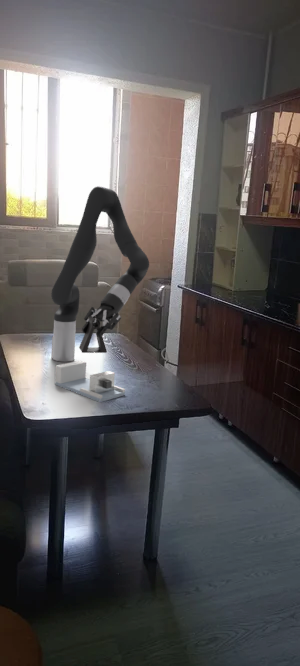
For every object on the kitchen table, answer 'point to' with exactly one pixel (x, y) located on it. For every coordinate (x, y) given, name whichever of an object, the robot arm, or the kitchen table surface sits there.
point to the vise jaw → (102, 382)
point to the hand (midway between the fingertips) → (90, 334)
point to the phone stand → (87, 338)
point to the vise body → (82, 382)
